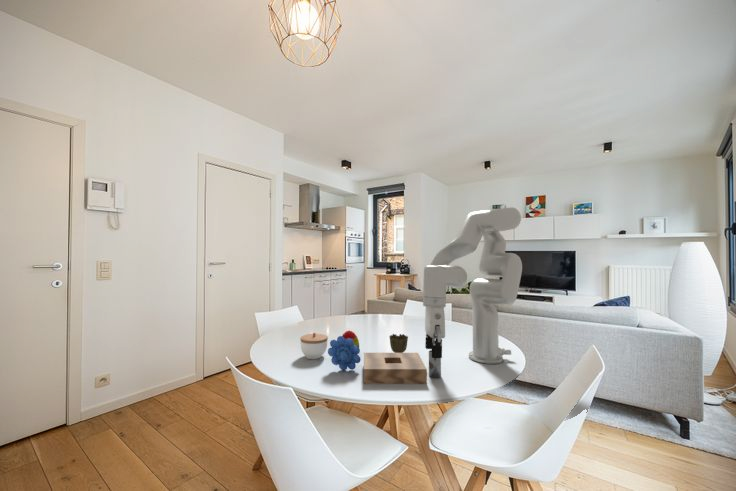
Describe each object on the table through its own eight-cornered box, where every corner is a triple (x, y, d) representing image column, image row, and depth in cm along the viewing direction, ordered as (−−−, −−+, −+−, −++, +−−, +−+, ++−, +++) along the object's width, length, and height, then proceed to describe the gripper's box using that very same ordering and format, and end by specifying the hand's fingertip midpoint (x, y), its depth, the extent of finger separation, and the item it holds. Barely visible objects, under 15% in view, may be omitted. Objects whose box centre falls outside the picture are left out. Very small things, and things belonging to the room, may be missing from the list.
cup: (407, 353, 124) (407, 333, 125) (408, 359, 117) (408, 338, 117) (389, 352, 125) (389, 333, 125) (389, 358, 118) (389, 338, 118)
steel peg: (439, 373, 103) (439, 350, 103) (442, 378, 99) (442, 354, 99) (427, 373, 103) (427, 350, 103) (430, 378, 99) (430, 354, 99)
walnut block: (417, 365, 111) (417, 352, 111) (426, 383, 95) (426, 369, 95) (363, 364, 111) (363, 352, 111) (363, 383, 95) (363, 369, 95)
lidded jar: (327, 351, 126) (327, 329, 126) (327, 360, 115) (328, 336, 116) (300, 352, 124) (301, 330, 124) (299, 362, 114) (299, 337, 114)
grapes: (325, 375, 102) (326, 339, 102) (328, 367, 108) (328, 334, 109) (360, 375, 101) (360, 339, 102) (360, 367, 108) (360, 334, 109)
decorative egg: (355, 351, 126) (356, 327, 126) (361, 358, 118) (361, 332, 119) (336, 353, 123) (337, 329, 124) (341, 360, 116) (341, 334, 116)
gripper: (452, 306, 93) (451, 362, 92) (439, 299, 110) (438, 346, 110) (428, 305, 93) (427, 361, 92) (418, 298, 110) (417, 345, 110)
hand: (433, 353), depth 101 cm, fingers open, 9 cm apart
